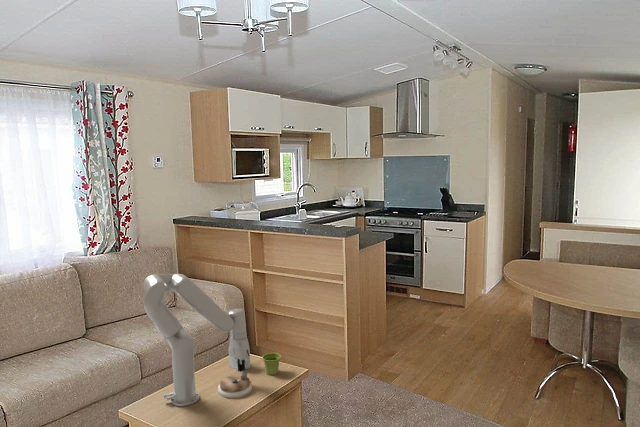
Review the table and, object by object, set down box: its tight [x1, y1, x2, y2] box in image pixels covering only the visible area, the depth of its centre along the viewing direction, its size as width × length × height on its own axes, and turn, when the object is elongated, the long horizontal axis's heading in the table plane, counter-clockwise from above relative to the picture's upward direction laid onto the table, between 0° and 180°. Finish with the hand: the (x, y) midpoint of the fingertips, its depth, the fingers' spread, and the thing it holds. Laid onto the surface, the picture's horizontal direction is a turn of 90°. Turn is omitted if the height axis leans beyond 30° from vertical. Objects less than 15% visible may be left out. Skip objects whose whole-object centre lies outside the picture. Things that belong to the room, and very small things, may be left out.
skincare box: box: [228, 347, 251, 371], centre depth 247 cm, size 10×6×10 cm, turn 49°
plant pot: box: [261, 352, 282, 376], centre depth 239 cm, size 9×9×9 cm
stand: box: [217, 380, 253, 399], centre depth 223 cm, size 16×16×2 cm
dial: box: [219, 369, 251, 392], centre depth 222 cm, size 14×14×5 cm
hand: (241, 370), depth 228 cm, fingers closed
